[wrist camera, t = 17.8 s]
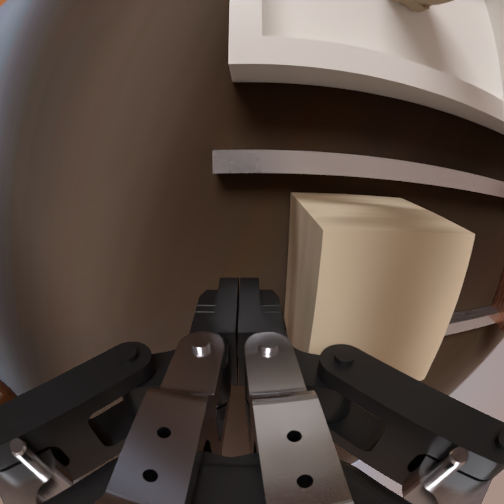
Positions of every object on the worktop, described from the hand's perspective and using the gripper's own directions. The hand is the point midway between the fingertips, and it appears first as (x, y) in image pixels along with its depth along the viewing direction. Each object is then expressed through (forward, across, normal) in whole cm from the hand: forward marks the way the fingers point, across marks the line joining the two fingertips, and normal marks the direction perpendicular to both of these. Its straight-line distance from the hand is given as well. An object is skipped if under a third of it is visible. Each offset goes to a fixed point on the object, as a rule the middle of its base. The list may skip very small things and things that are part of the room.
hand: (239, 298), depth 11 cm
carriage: (+4, -5, 0) cm, 6 cm away
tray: (+4, -9, -16) cm, 19 cm away
